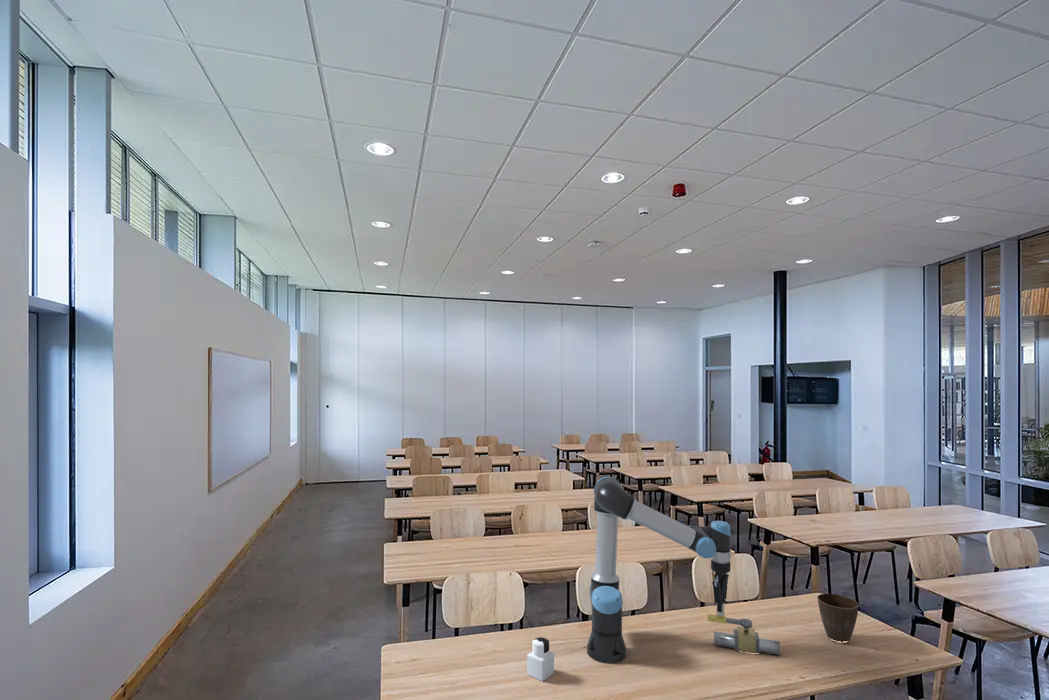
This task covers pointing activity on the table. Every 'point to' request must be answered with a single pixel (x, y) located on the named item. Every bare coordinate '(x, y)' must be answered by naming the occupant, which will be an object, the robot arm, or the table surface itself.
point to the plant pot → (838, 615)
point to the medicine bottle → (540, 660)
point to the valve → (746, 641)
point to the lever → (730, 620)
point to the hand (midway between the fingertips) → (720, 618)
